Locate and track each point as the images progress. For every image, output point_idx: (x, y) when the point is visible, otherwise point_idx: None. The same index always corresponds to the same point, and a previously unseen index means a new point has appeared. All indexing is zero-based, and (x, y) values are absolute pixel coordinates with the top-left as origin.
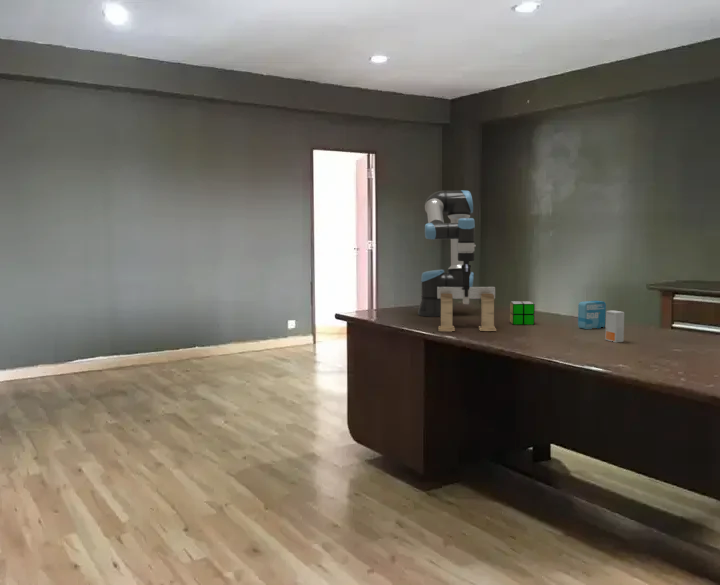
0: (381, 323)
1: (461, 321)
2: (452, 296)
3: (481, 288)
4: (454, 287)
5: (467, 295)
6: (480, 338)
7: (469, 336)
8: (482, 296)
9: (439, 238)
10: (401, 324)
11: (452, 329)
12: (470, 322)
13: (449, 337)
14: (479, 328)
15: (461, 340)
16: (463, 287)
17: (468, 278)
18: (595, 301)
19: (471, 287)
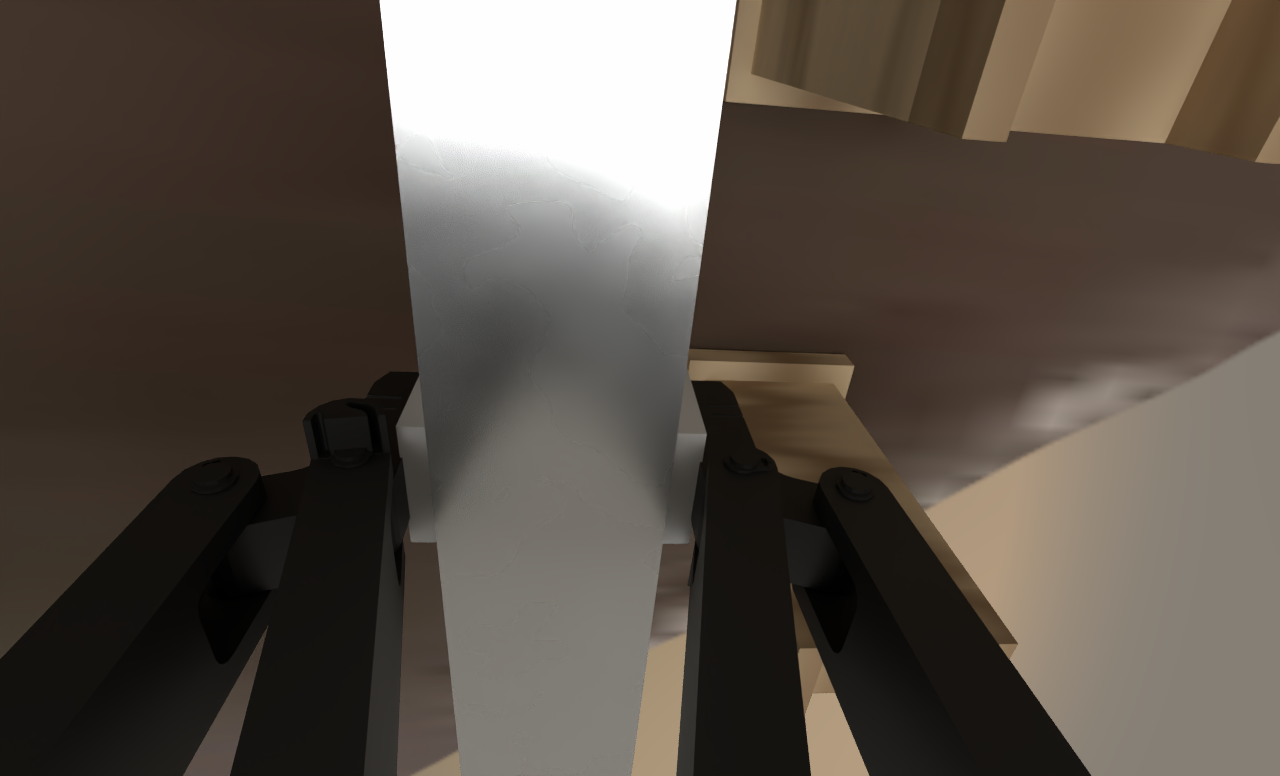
0: (425, 762)
1: (134, 230)
2: (1005, 627)
3: (712, 105)
4: (616, 706)
5: (734, 404)
6: (1268, 169)
7: (1128, 255)
8: (1266, 159)
9: None
10: None
11: (848, 380)
12: (191, 127)
13: (1104, 407)
14: (843, 110)
15: (1266, 335)
16: (629, 573)
17: (1029, 735)
18: None
19: (641, 410)
